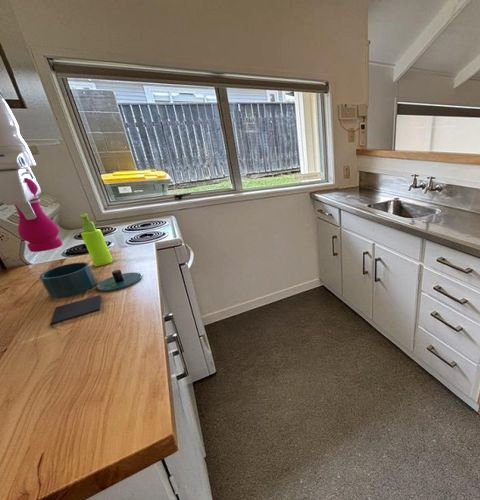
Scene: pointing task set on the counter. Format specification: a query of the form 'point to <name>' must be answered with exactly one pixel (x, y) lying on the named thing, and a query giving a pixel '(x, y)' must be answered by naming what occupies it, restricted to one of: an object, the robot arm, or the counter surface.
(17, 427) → the counter surface
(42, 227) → the pepper mill
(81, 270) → the pot
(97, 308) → the mat
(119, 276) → the lid
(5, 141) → the robot arm
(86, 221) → the soap dispenser
